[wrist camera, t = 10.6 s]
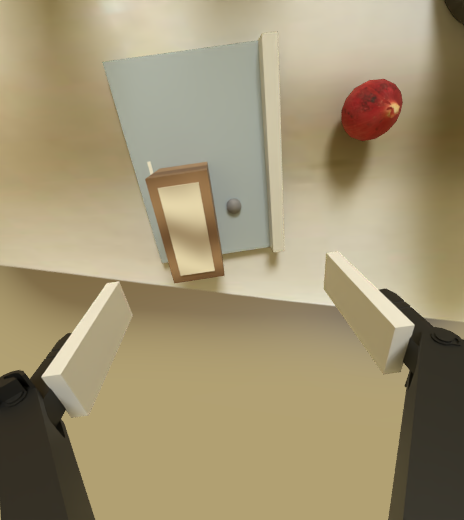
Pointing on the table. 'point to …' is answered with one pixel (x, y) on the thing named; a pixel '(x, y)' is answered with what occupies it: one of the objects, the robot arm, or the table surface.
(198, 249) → the frame
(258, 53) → the wall panel
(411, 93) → the table surface
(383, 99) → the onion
